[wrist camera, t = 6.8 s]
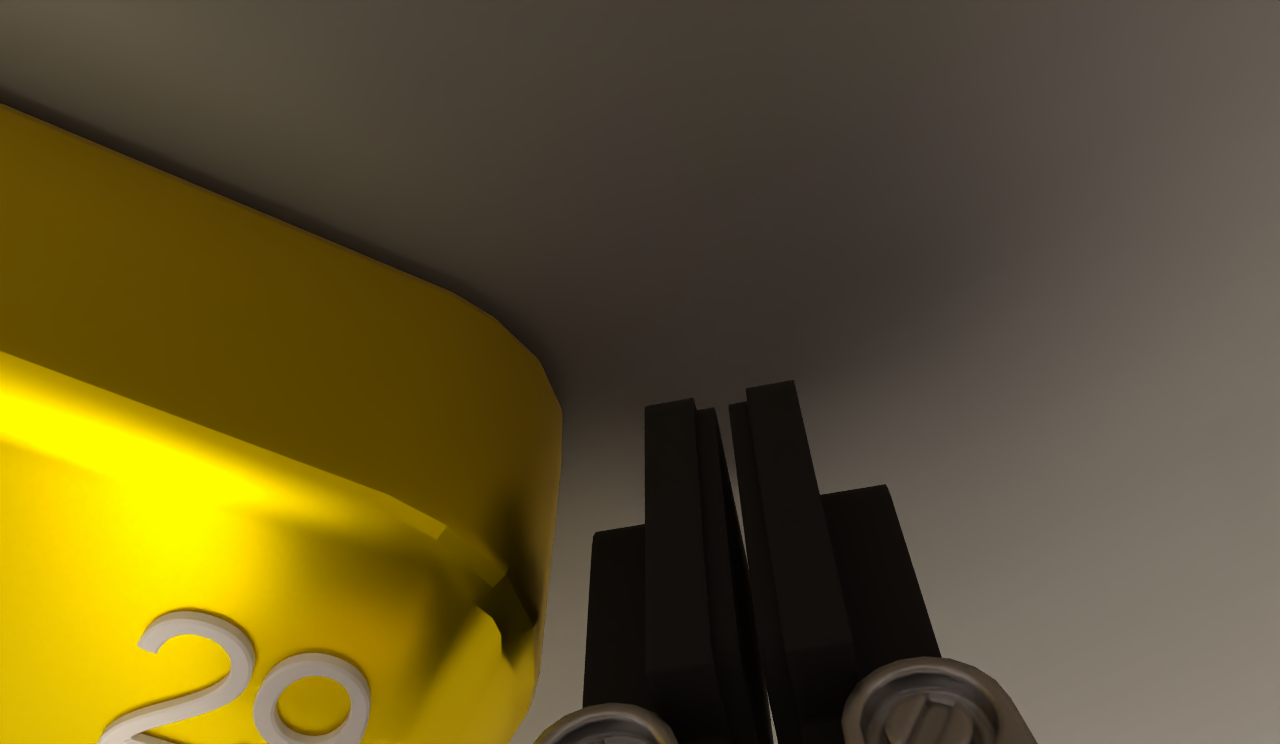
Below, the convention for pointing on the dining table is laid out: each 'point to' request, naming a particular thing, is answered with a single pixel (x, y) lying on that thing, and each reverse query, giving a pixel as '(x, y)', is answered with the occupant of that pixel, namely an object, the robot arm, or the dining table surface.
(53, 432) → the element tile
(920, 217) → the dining table surface
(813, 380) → the dining table surface
